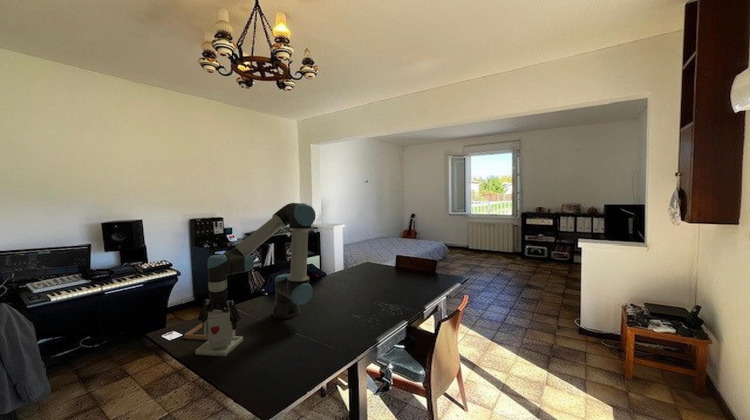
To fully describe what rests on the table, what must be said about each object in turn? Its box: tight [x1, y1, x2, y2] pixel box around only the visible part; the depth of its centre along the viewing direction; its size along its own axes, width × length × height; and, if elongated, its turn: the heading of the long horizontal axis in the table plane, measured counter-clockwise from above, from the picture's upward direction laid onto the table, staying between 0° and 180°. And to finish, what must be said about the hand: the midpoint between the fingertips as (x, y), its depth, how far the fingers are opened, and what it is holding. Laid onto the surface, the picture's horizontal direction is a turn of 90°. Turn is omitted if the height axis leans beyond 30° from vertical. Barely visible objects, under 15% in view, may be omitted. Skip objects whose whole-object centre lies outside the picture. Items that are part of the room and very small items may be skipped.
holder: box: [183, 321, 231, 341], centre depth 152 cm, size 15×15×2 cm
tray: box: [194, 335, 244, 357], centre depth 137 cm, size 14×14×2 cm
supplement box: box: [207, 308, 231, 349], centre depth 137 cm, size 9×9×15 cm
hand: (219, 335), depth 137 cm, fingers closed on supplement box, 12 cm apart
